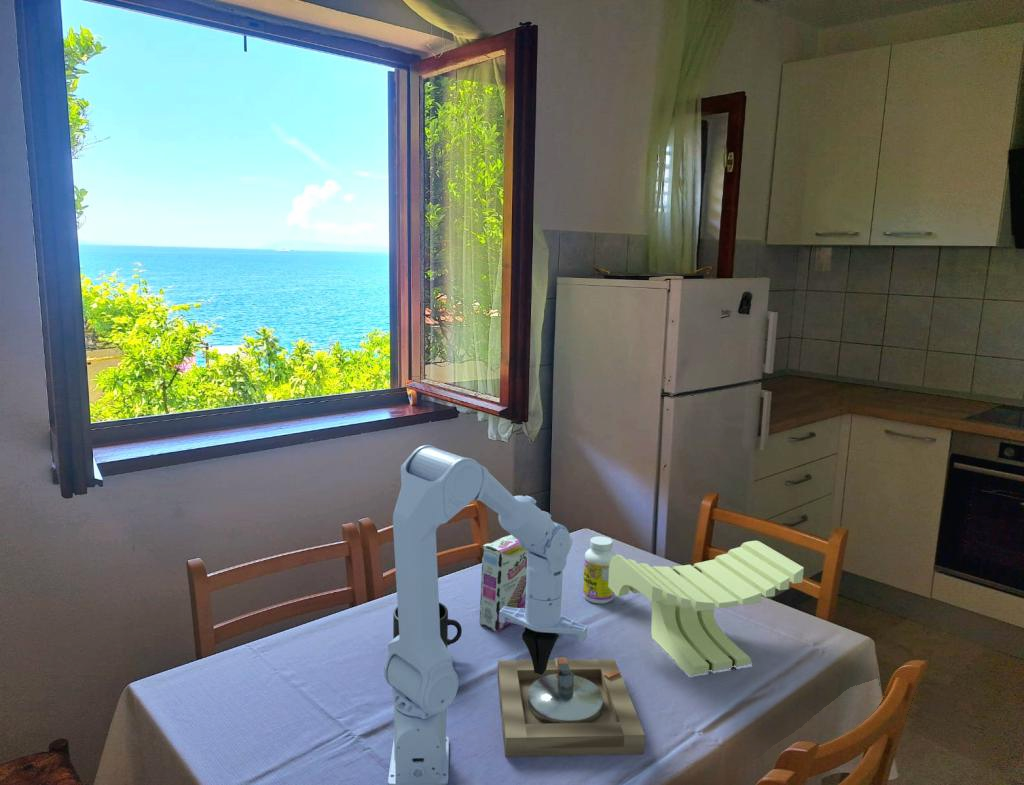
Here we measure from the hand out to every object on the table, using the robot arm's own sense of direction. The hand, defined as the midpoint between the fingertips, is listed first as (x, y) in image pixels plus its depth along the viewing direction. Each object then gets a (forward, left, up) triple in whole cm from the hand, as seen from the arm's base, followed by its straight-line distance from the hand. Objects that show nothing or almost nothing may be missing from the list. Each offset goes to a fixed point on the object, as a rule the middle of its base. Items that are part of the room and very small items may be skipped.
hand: (540, 670), depth 116 cm
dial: (-5, -3, -2) cm, 7 cm away
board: (-5, -3, -4) cm, 7 cm away
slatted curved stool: (+13, -31, -4) cm, 34 cm away
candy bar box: (+25, +4, -4) cm, 25 cm away
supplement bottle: (+34, -16, -4) cm, 38 cm away
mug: (+11, +19, -4) cm, 22 cm away
